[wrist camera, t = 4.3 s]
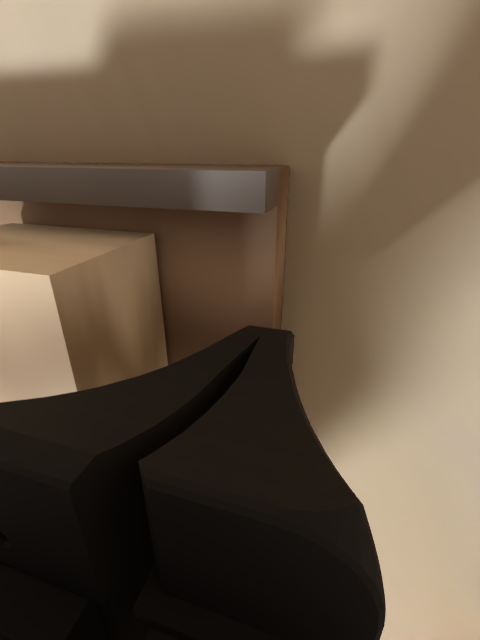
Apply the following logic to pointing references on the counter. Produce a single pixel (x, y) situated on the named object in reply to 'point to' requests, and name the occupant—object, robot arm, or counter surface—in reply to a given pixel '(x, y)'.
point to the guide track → (175, 233)
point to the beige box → (76, 309)
